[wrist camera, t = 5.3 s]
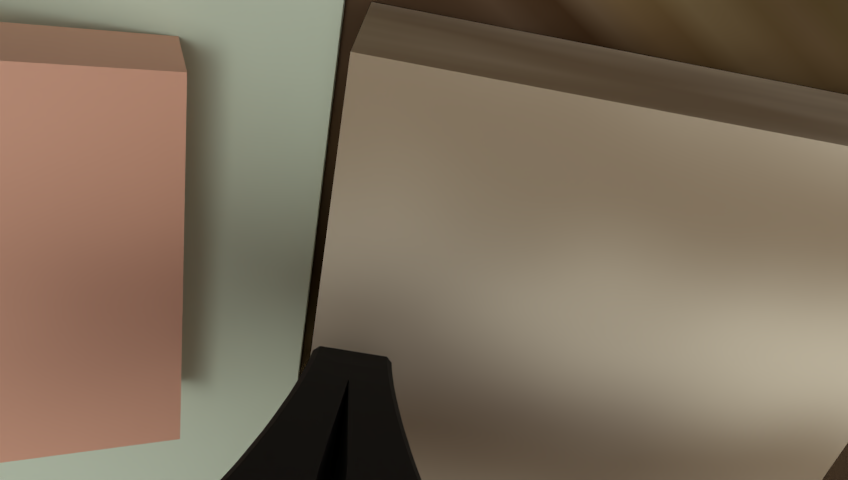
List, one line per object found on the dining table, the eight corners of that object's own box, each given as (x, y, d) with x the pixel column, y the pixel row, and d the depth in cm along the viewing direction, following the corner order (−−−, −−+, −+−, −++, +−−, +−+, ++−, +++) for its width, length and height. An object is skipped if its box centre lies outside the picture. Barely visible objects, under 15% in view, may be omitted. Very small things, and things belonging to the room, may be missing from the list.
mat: (268, 621, 24) (266, 630, 24) (-158, 566, 23) (-164, 574, 23) (368, -184, 12) (366, -183, 12) (-519, -373, 11) (-542, -378, 11)
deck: (640, 579, 22) (671, 696, 19) (296, 531, 22) (272, 645, 18) (905, 106, 14) (1029, 180, 11) (371, 1, 13) (350, 51, 10)
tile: (-132, 480, 14) (-109, 409, 16) (180, 439, 17) (174, 381, 18) (-268, 43, 10) (-217, 4, 11) (187, 72, 12) (178, 36, 14)
